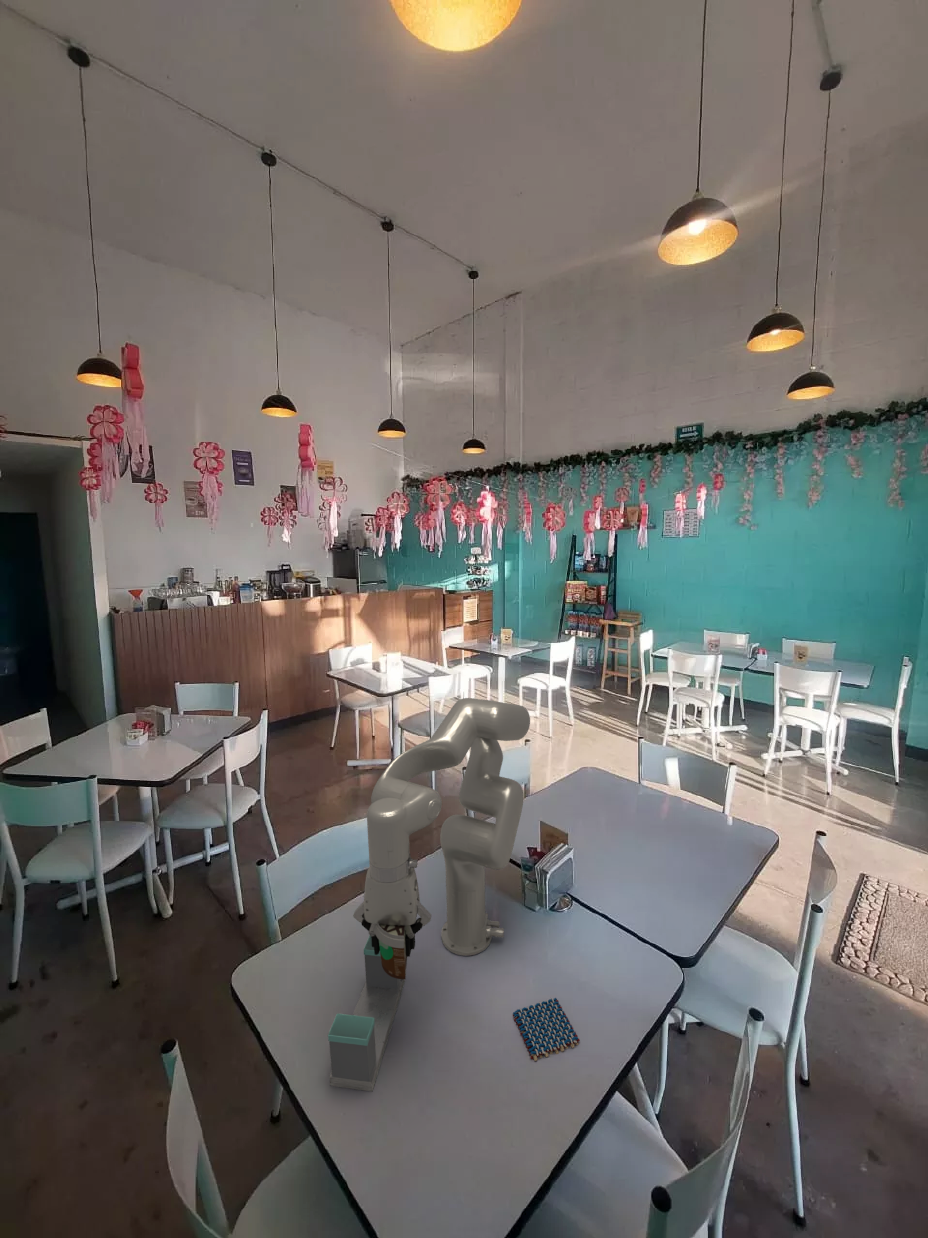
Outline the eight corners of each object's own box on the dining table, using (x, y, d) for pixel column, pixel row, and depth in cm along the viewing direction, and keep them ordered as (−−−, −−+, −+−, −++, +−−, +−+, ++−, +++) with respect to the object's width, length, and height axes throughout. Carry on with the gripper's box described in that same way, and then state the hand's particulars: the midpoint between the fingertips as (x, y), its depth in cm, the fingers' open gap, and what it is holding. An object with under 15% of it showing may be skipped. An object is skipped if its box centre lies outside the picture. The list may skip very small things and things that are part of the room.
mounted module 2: (402, 973, 114) (401, 937, 112) (397, 989, 110) (396, 953, 108) (371, 970, 115) (369, 934, 113) (365, 986, 111) (363, 949, 109)
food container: (379, 935, 105) (377, 892, 103) (408, 934, 105) (407, 891, 104) (371, 988, 93) (369, 940, 91) (405, 986, 93) (403, 938, 92)
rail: (404, 981, 114) (404, 973, 114) (372, 1091, 91) (371, 1082, 91) (370, 977, 115) (370, 970, 115) (330, 1086, 93) (329, 1076, 92)
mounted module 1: (376, 1059, 95) (374, 1018, 94) (369, 1082, 91) (366, 1040, 90) (340, 1054, 96) (337, 1013, 95) (331, 1077, 92) (328, 1035, 91)
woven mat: (582, 1048, 99) (582, 1039, 99) (532, 1065, 96) (532, 1056, 96) (557, 1002, 109) (557, 993, 108) (511, 1016, 106) (510, 1008, 105)
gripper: (437, 854, 99) (440, 937, 101) (351, 851, 100) (356, 933, 103) (431, 880, 91) (434, 969, 94) (338, 876, 93) (344, 963, 96)
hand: (393, 949), depth 99 cm, fingers closed on food container, 5 cm apart
